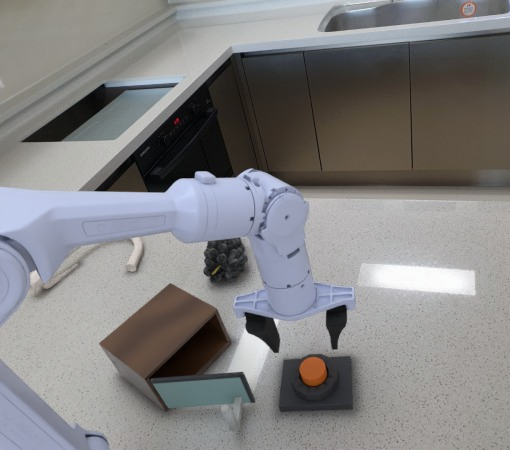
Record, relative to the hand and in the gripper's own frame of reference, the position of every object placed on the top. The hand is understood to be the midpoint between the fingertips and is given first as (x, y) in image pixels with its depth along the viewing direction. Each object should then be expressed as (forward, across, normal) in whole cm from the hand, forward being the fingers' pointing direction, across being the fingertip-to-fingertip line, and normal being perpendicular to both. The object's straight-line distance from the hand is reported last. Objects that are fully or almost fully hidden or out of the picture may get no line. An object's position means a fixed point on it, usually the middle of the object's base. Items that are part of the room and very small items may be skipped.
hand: (305, 345), depth 60 cm
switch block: (+9, 0, 0) cm, 9 cm away
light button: (+7, 0, 0) cm, 7 cm away
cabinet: (+9, +23, -6) cm, 25 cm away
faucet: (+10, +47, -29) cm, 56 cm away
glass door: (+8, +15, +5) cm, 18 cm away
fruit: (+10, +18, -28) cm, 34 cm away
